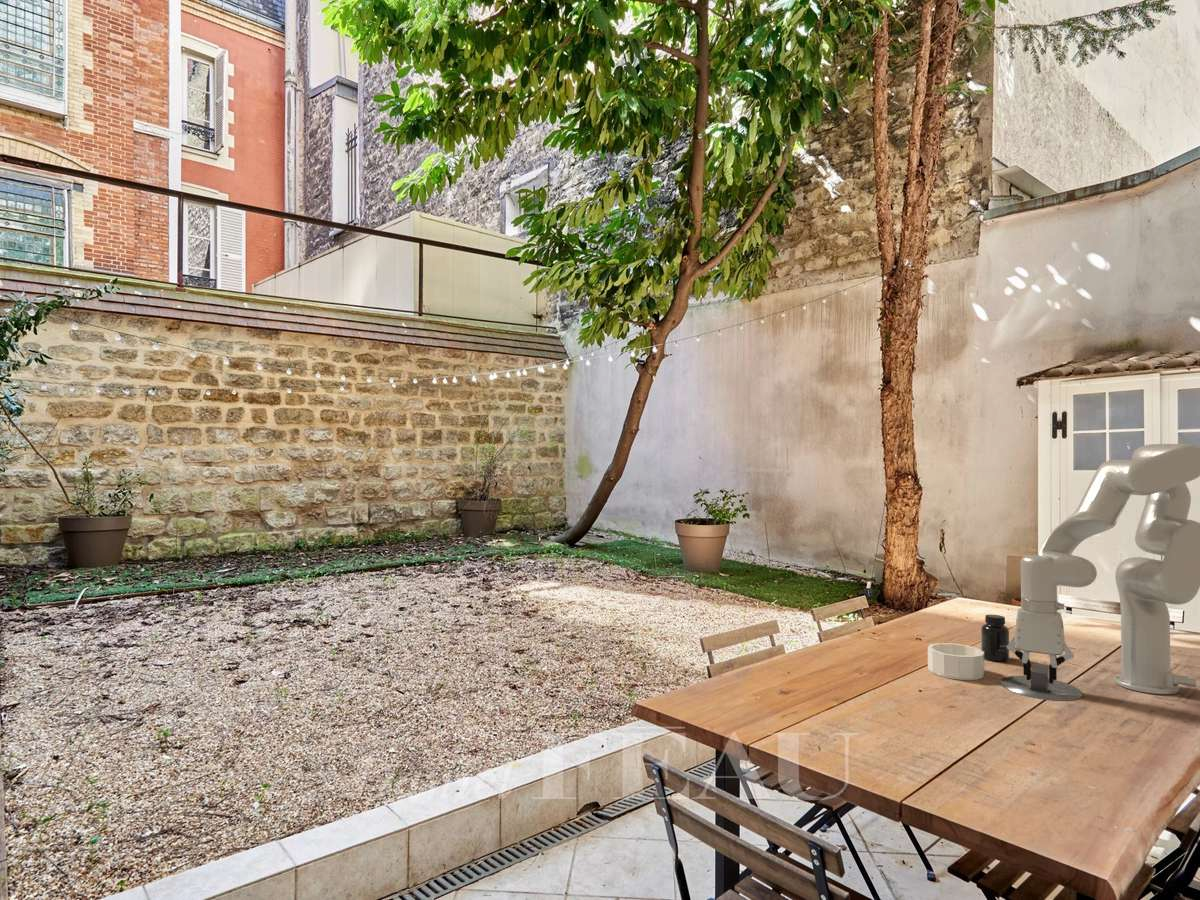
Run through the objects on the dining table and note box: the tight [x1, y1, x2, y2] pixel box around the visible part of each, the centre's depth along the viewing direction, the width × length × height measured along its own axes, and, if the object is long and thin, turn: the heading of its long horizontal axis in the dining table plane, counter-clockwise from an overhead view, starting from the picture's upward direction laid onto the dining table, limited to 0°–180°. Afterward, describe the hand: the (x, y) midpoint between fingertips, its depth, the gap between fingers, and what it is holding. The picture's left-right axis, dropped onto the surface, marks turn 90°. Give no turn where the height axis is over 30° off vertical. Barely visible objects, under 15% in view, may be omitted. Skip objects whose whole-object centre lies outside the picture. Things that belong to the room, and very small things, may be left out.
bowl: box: [927, 642, 985, 681], centre depth 182 cm, size 13×13×6 cm
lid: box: [999, 663, 1083, 702], centre depth 169 cm, size 17×17×5 cm
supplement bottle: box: [980, 614, 1010, 663], centre depth 193 cm, size 7×7×12 cm
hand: (1040, 679), depth 169 cm, fingers open, 4 cm apart
